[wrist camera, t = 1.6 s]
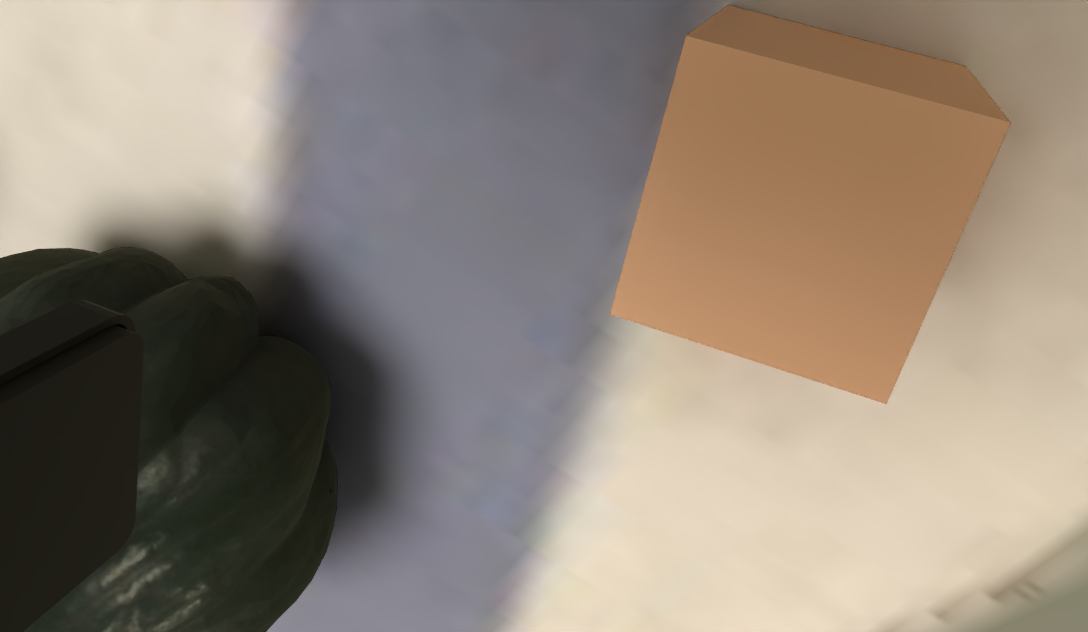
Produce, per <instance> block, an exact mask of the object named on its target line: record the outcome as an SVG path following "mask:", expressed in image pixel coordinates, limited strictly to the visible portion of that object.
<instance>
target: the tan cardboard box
mask: <svg viewBox="0 0 1088 632" xmlns="http://www.w3.org/2000/svg"><path fill="white" fill-rule="evenodd" d="M1010 123H1011V122H1010V121H1009V120H1008V118H1007V117H1006V116H1005V115H1004V113H1003V112H1002V111H1001V110H1000V108H999V107H998V106H997V105H996V103H995V102H994V101H993V100H992V98H991V97H990V96H989V95H988V93H987V92H986V91H985V90H984V89H983V87H982V86H981V85H980V84H979V82H978V81H977V80H976V79H975V77H974V76H973V75H972V74H971V72H970V71H969V70H968V69H967V67H965V66H962V65H958V64H954V63H950V62H946V61H942V60H938V59H935V58H931V57H927V56H923V55H919V54H915V53H911V52H908V51H904V50H900V49H896V48H892V47H888V46H884V45H881V44H877V43H873V42H869V41H865V40H861V39H857V38H853V37H850V36H846V35H842V34H838V33H834V32H830V31H826V30H823V29H819V28H815V27H811V26H807V25H803V24H799V23H796V22H792V21H788V20H784V19H780V18H776V17H772V16H769V15H765V14H761V13H757V12H753V11H749V10H745V9H742V8H738V7H734V6H730V5H728V6H726V7H725V8H724V9H722V10H721V11H719V12H718V13H717V14H715V15H714V16H713V17H711V18H710V19H708V20H707V21H706V22H704V23H703V24H701V25H700V26H699V27H697V28H696V29H695V30H693V31H692V32H690V33H689V34H688V35H686V37H685V41H684V45H683V48H682V52H681V56H680V59H679V63H678V67H677V70H676V74H675V78H674V81H673V85H672V89H671V92H670V96H669V100H668V103H667V107H666V111H665V114H664V118H663V122H662V125H661V129H660V133H659V136H658V140H657V144H656V147H655V151H654V155H653V158H652V162H651V166H650V169H649V173H648V177H647V180H646V184H645V188H644V191H643V195H642V199H641V202H640V206H639V210H638V213H637V217H636V221H635V224H634V228H633V232H632V235H631V239H630V243H629V246H628V250H627V254H626V257H625V261H624V265H623V268H622V272H621V276H620V279H619V283H618V287H617V290H616V294H615V298H614V301H613V305H612V309H611V312H610V314H611V315H614V316H617V317H620V318H624V319H627V320H630V321H633V322H636V323H639V324H642V325H645V326H648V327H651V328H654V329H657V330H660V331H663V332H667V333H670V334H673V335H676V336H679V337H682V338H685V339H688V340H691V341H694V342H697V343H700V344H703V345H707V346H710V347H713V348H716V349H719V350H722V351H725V352H728V353H731V354H734V355H737V356H740V357H743V358H747V359H750V360H753V361H756V362H759V363H762V364H765V365H768V366H771V367H774V368H777V369H780V370H783V371H786V372H790V373H793V374H796V375H799V376H802V377H805V378H808V379H811V380H814V381H817V382H820V383H823V384H826V385H830V386H833V387H836V388H839V389H842V390H845V391H848V392H851V393H854V394H857V395H860V396H863V397H866V398H870V399H873V400H876V401H879V402H882V403H885V404H887V401H888V399H889V397H890V395H891V392H892V390H893V388H894V386H895V383H896V381H897V379H898V377H899V374H900V372H901V370H902V368H903V365H904V363H905V361H906V359H907V356H908V354H909V352H910V349H911V347H912V345H913V343H914V340H915V338H916V336H917V334H918V331H919V329H920V327H921V325H922V322H923V320H924V318H925V316H926V313H927V311H928V309H929V307H930V304H931V302H932V300H933V297H934V295H935V293H936V291H937V288H938V286H939V284H940V282H941V279H942V277H943V275H944V273H945V270H946V268H947V266H948V264H949V261H950V259H951V257H952V255H953V252H954V250H955V248H956V245H957V243H958V241H959V239H960V236H961V234H962V232H963V230H964V227H965V225H966V223H967V221H968V218H969V216H970V214H971V212H972V209H973V207H974V205H975V203H976V200H977V198H978V196H979V193H980V191H981V189H982V187H983V184H984V182H985V180H986V178H987V175H988V173H989V171H990V169H991V166H992V164H993V162H994V160H995V157H996V155H997V153H998V151H999V148H1000V146H1001V144H1002V141H1003V139H1004V137H1005V135H1006V132H1007V130H1008V128H1009V126H1010Z"/></svg>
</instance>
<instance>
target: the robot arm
mask: <svg viewBox="0 0 1088 632" xmlns="http://www.w3.org/2000/svg"><path fill="white" fill-rule="evenodd" d="M143 355H144V345H143V340H142V338H141V336H140V335H138V334H137V333H136V331H135V325H134V323H133V321H132V320H131V319H130V318H129V317H128V316H126V315H123V314H121V313H118V312H116V311H113V310H110V309H108V308H105V307H103V306H100V305H97V304H95V303H92V302H90V301H87V300H80V299H79V300H75V301H72V302H69V303H67V304H65V305H63V306H61V307H59V308H57V309H55V310H52V311H50V312H48V313H46V314H44V315H42V316H40V317H38V318H36V319H33V320H31V321H29V322H27V323H25V324H23V325H21V326H19V327H17V328H14V329H12V330H10V331H8V332H6V333H4V334H2V335H0V632H23V631H24V630H25V629H27V628H28V627H29V626H30V625H31V624H33V623H34V622H35V621H36V620H37V619H39V618H40V617H41V616H42V615H43V614H44V613H46V612H47V611H48V610H49V609H50V608H52V607H53V606H54V605H55V604H56V603H57V602H59V601H60V600H61V599H62V598H63V597H65V596H66V595H67V594H68V593H69V592H70V591H72V590H73V589H74V588H75V587H76V586H78V585H79V584H80V583H81V582H82V581H83V580H85V579H86V578H87V577H88V576H89V575H91V574H92V573H93V572H94V571H95V570H97V569H98V568H99V567H100V566H101V565H102V564H104V563H105V562H106V561H107V560H108V559H110V558H111V557H112V556H113V555H114V554H115V553H117V552H118V551H119V550H120V549H121V548H122V547H123V545H124V544H125V543H126V541H127V540H128V538H129V536H130V534H131V533H132V530H133V527H134V525H135V519H136V500H137V479H138V458H139V438H140V417H141V397H142V376H143Z"/></svg>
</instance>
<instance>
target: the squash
mask: <svg viewBox="0 0 1088 632" xmlns="http://www.w3.org/2000/svg"><path fill="white" fill-rule="evenodd" d="M79 299H80V300H87V301H90V302H92V303H95V304H97V305H100V306H103V307H105V308H108V309H110V310H113V311H116V312H118V313H121V314H123V315H126V316H128V317H129V318H130V319H131V320H132V321H133V323H134V325H135V331H136V333H137V334H138V335H140V336H141V338H142V340H143V345H144V355H143V376H142V397H141V417H140V438H139V458H138V479H137V500H136V519H135V525H134V527H133V530H132V533H131V534H130V536H129V538H128V540H127V541H126V543H125V544H124V545H123V547H122V548H121V549H120V550H119V551H118V552H117V553H115V554H114V555H113V556H112V557H111V558H110V559H108V560H107V561H106V562H105V563H104V564H102V565H101V566H100V567H99V568H98V569H97V570H95V571H94V572H93V573H92V574H91V575H89V576H88V577H87V578H86V579H85V580H83V581H82V582H81V583H80V584H79V585H78V586H76V587H75V588H74V589H73V590H72V591H70V592H69V593H68V594H67V595H66V596H65V597H63V598H62V599H61V600H60V601H59V602H57V603H56V604H55V605H54V606H53V607H52V608H50V609H49V610H48V611H47V612H46V613H44V614H43V615H42V616H41V617H40V618H39V619H37V620H36V621H35V622H34V623H33V624H31V625H30V626H29V627H28V628H27V629H25V630H24V631H23V632H266V631H267V630H268V629H269V628H270V627H271V626H272V625H273V624H274V622H275V621H276V620H277V619H278V618H279V617H280V616H281V615H282V614H283V613H284V612H285V611H286V610H287V609H288V608H289V607H290V606H291V605H292V604H293V603H294V602H295V601H296V600H297V599H298V598H299V596H300V595H301V594H302V592H303V591H304V590H305V588H306V587H307V586H308V584H309V583H310V582H311V581H312V579H313V577H314V575H315V573H316V571H317V569H318V567H319V565H320V563H321V561H322V559H323V557H324V555H325V553H326V551H327V548H328V544H329V541H330V537H331V533H332V530H333V526H334V520H335V515H336V510H337V496H338V478H337V469H336V465H335V462H334V459H333V456H332V453H331V451H330V448H329V446H328V444H327V442H326V440H325V439H324V438H325V433H326V428H327V423H328V419H329V416H330V411H331V402H332V396H331V388H330V383H329V379H328V376H327V374H326V371H325V370H324V368H323V367H322V365H321V364H320V362H319V361H318V360H317V359H316V358H315V356H314V355H313V354H311V353H310V352H309V351H308V350H306V349H304V348H303V347H301V346H299V345H297V344H295V343H293V342H291V341H289V340H287V339H285V338H282V337H279V336H258V333H259V319H258V311H257V307H256V304H255V302H254V300H253V297H252V295H251V294H250V293H249V292H248V291H247V290H246V289H245V288H244V287H243V285H241V284H240V283H239V282H237V281H236V280H235V279H234V278H231V277H218V276H207V277H199V278H195V279H191V280H189V281H188V280H187V278H186V276H185V275H184V274H182V273H181V272H180V271H179V270H178V269H177V268H176V267H175V266H174V265H173V264H172V263H170V262H169V261H168V260H167V259H165V258H163V257H161V256H159V255H157V254H155V253H153V252H150V251H147V250H144V249H139V248H132V247H121V248H115V249H111V250H108V251H105V252H102V253H100V254H99V253H96V252H91V251H86V250H80V249H72V248H59V249H36V250H32V251H27V252H23V253H18V254H14V255H10V256H6V257H3V258H0V335H2V334H4V333H6V332H8V331H10V330H12V329H14V328H17V327H19V326H21V325H23V324H25V323H27V322H29V321H31V320H33V319H36V318H38V317H40V316H42V315H44V314H46V313H48V312H50V311H52V310H55V309H57V308H59V307H61V306H63V305H65V304H67V303H69V302H72V301H75V300H79Z"/></svg>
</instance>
